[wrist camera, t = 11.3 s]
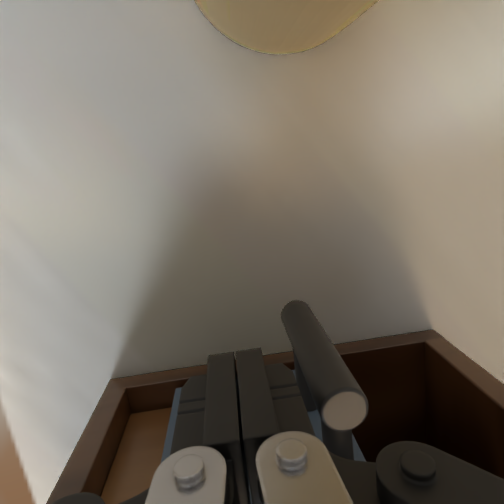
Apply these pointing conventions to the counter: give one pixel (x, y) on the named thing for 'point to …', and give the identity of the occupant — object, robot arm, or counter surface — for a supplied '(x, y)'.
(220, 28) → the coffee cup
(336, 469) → the robot arm
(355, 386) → the sliding lid with handle
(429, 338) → the cupboard
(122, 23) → the counter surface
